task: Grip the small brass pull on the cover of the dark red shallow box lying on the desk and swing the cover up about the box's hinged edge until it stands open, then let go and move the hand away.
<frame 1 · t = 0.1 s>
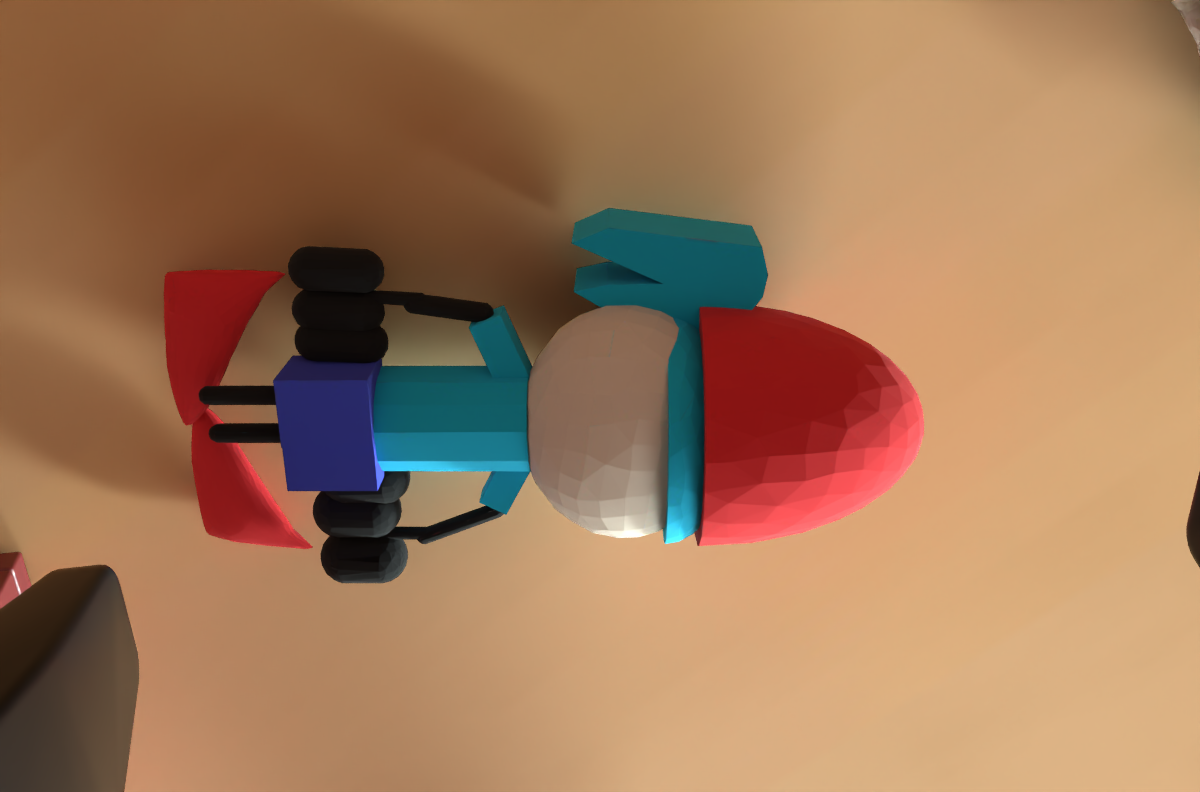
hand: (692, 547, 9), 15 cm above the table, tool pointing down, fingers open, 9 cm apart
toy figure: (536, 370, 25), on the table
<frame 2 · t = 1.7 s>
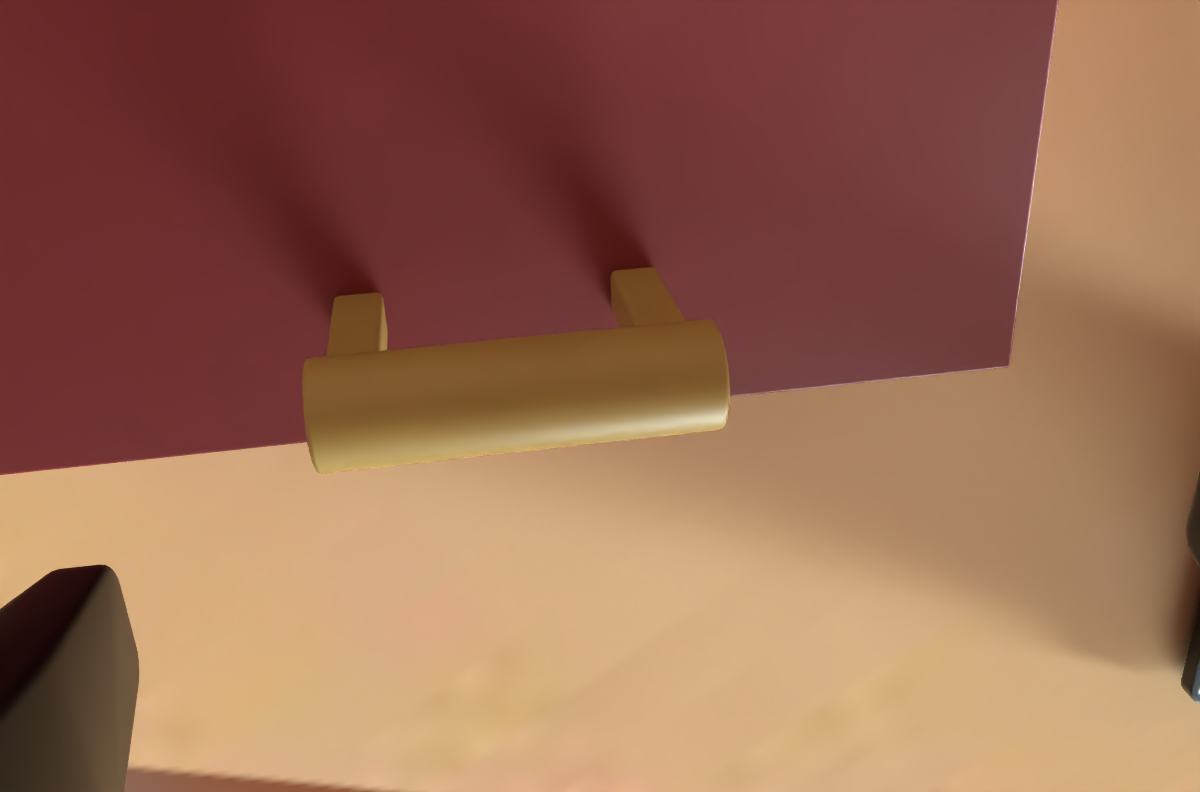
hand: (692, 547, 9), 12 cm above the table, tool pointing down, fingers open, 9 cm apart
cover: (485, 67, 14), point 6 cm above the table, hinge at 0.0°
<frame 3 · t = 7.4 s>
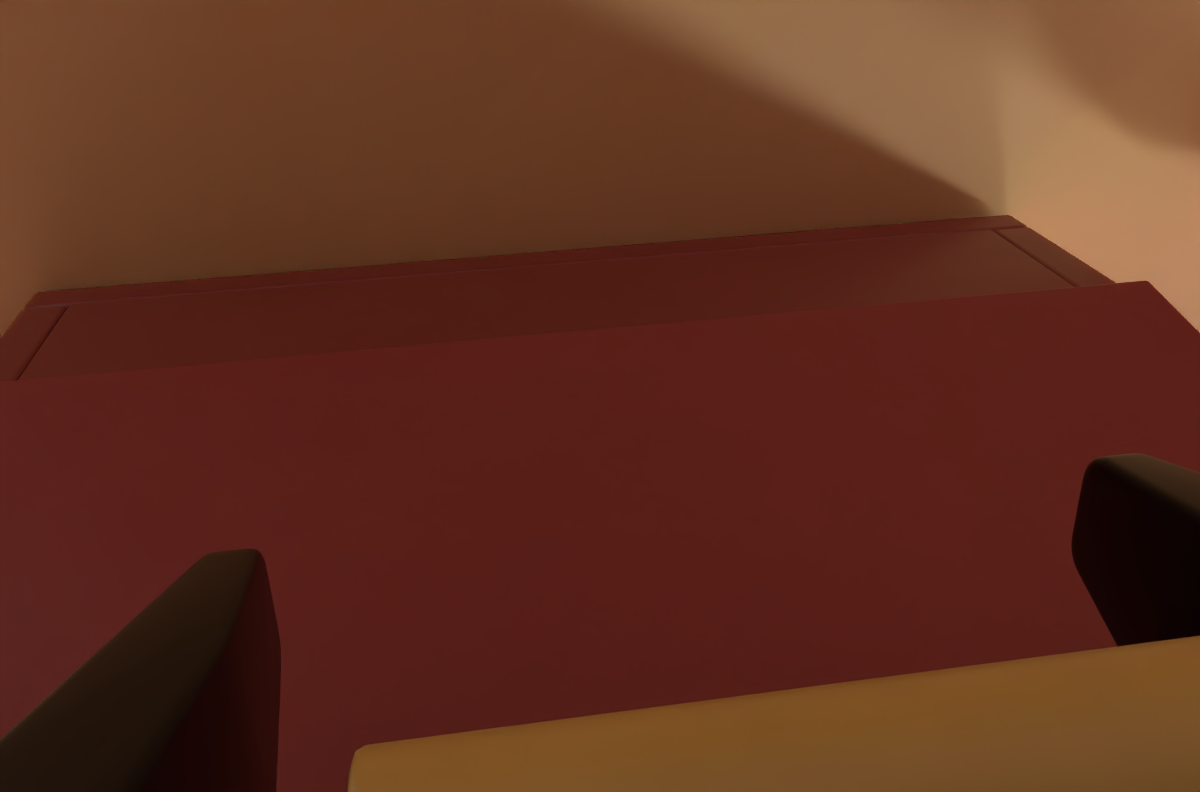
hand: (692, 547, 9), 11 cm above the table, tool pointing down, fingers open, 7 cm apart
dark red shallow box: (562, 524, 22), on the table
cover: (674, 541, 10), point 10 cm above the table, hinge at 78.5°
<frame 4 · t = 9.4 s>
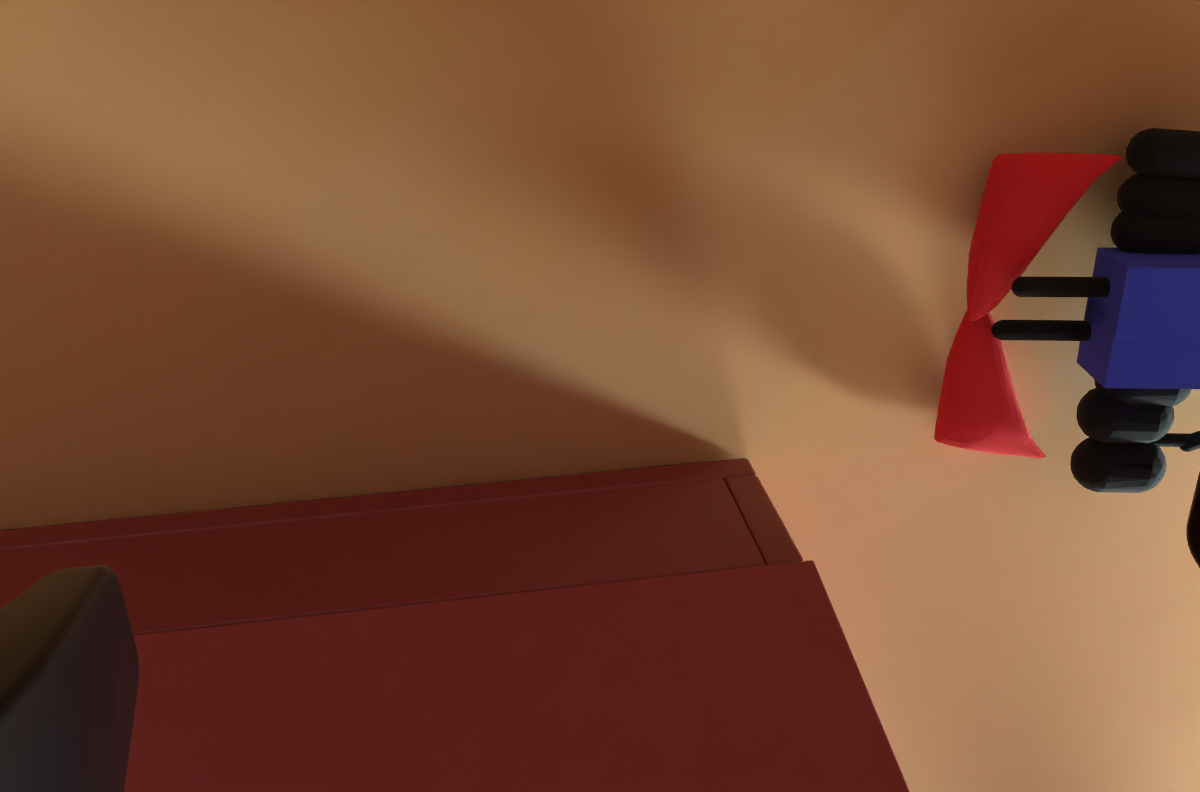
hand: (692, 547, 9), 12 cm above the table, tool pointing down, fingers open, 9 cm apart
dark red shallow box: (371, 709, 25), on the table
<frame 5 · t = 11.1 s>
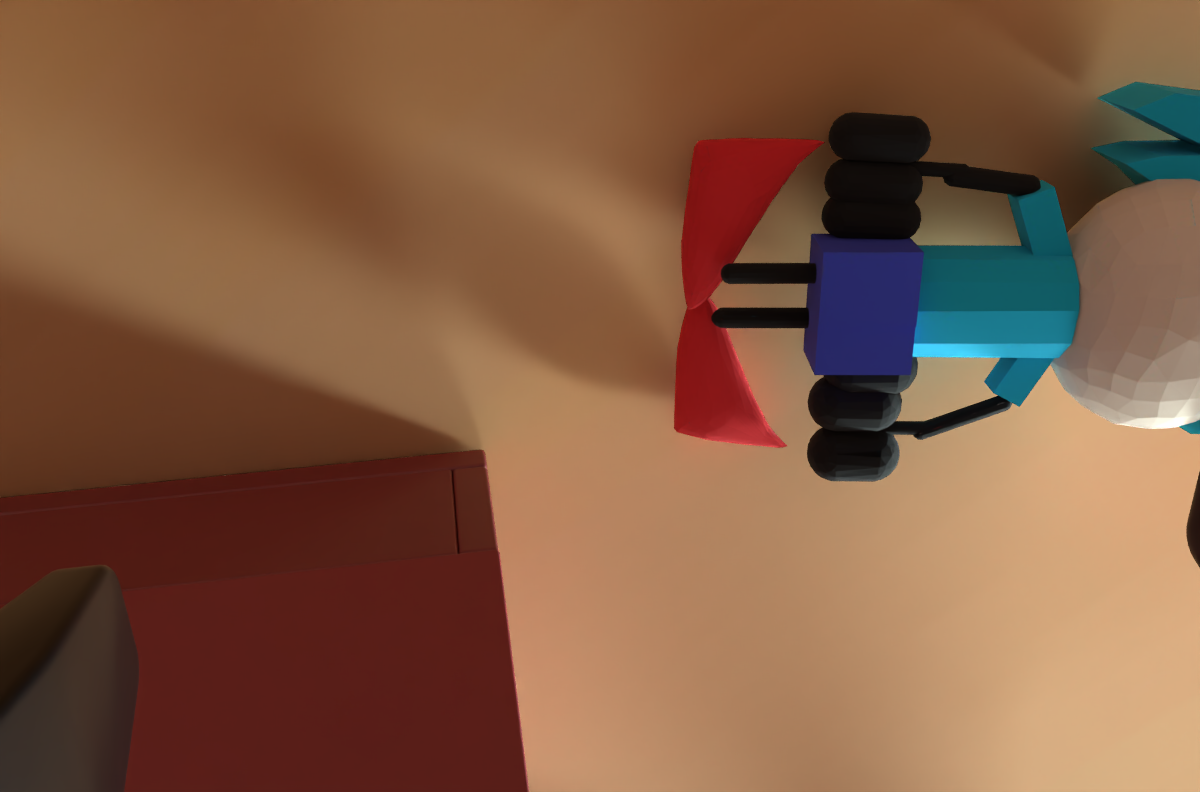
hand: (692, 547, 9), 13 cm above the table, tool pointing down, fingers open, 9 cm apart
toy figure: (1021, 260, 24), on the table
dark red shallow box: (124, 705, 25), on the table
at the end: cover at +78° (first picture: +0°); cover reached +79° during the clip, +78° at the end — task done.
